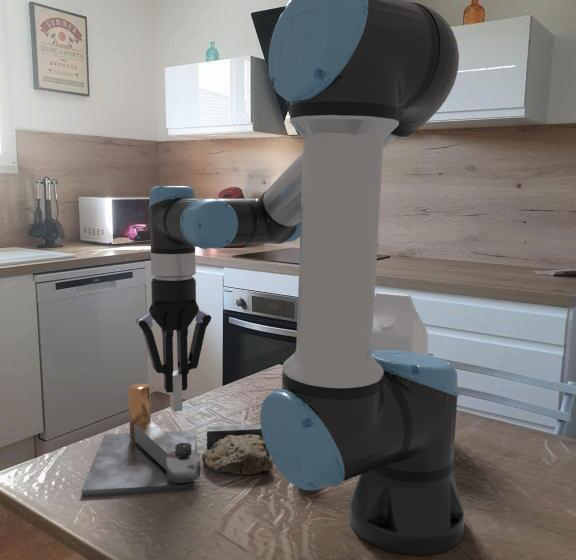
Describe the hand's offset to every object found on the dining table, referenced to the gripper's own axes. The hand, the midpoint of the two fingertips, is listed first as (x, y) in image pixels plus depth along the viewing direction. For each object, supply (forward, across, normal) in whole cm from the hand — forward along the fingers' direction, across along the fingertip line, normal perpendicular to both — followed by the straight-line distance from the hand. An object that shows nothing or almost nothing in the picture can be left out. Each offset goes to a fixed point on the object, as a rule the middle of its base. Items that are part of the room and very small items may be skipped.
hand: (176, 408), depth 105 cm
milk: (+6, -37, +12) cm, 39 cm away
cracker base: (+6, -1, +10) cm, 11 cm away
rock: (+6, -6, +13) cm, 16 cm away
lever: (+4, +5, +8) cm, 11 cm away
